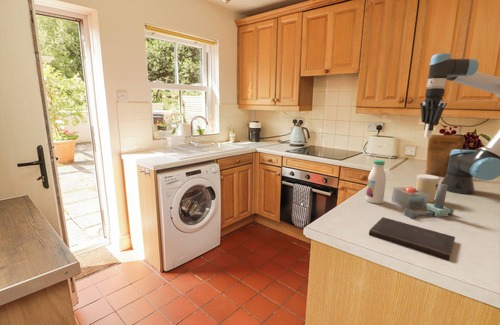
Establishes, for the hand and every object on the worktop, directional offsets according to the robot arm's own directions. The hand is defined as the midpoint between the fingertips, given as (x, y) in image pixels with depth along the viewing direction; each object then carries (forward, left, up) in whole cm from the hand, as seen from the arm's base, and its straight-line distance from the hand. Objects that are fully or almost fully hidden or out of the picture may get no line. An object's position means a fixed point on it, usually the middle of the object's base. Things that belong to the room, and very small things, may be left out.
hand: (427, 137), depth 132 cm
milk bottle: (+30, +5, -31) cm, 43 cm away
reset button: (+17, +12, -28) cm, 35 cm away
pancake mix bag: (-49, -32, -31) cm, 66 cm away
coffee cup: (+3, +7, -31) cm, 32 cm away
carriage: (+14, +24, -30) cm, 41 cm away
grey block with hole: (+17, +12, -30) cm, 37 cm away
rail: (+18, +24, -30) cm, 43 cm away
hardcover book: (+42, +40, -31) cm, 66 cm away
